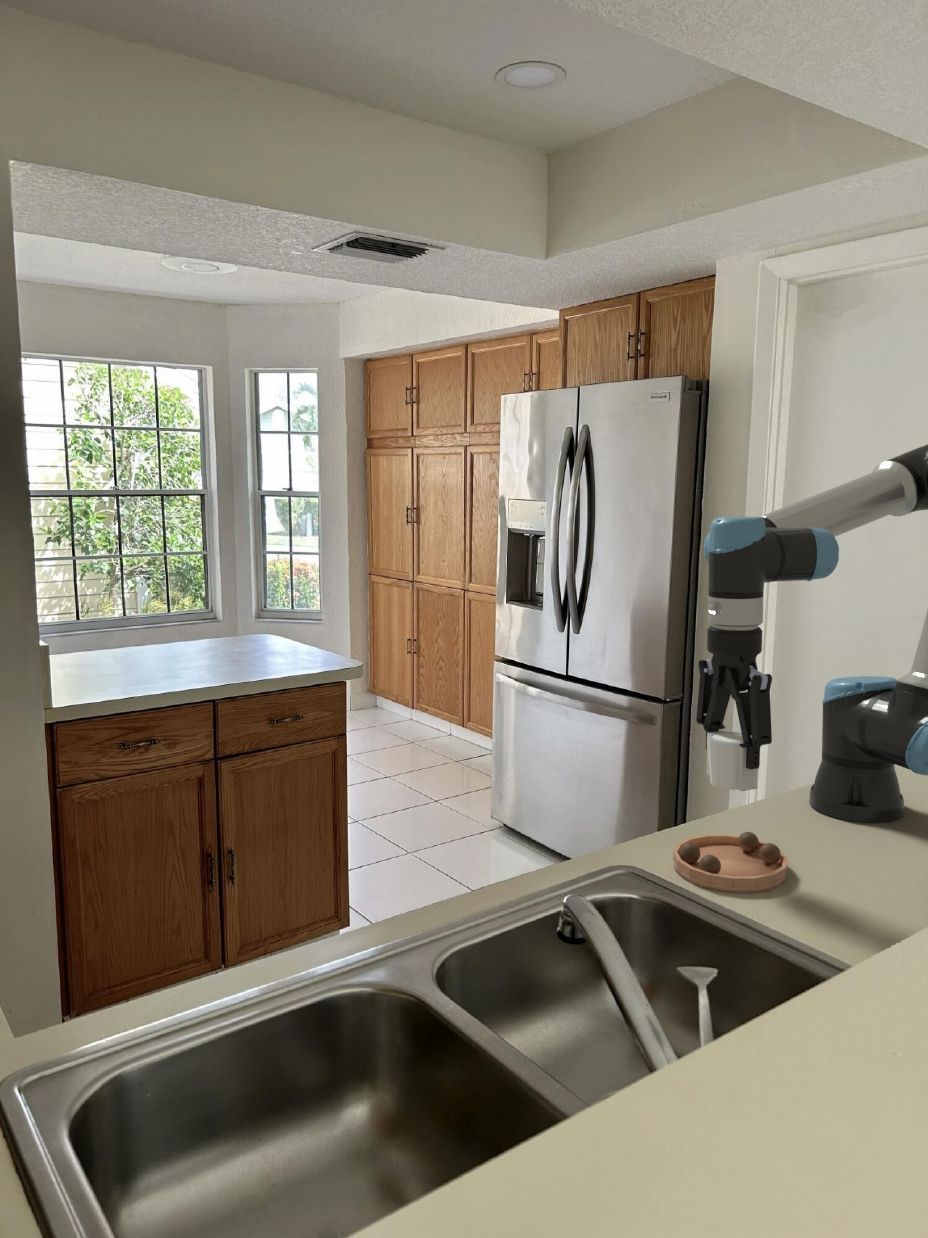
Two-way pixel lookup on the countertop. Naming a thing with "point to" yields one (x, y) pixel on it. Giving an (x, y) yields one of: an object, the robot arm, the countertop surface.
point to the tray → (731, 866)
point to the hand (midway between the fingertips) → (731, 781)
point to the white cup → (724, 759)
